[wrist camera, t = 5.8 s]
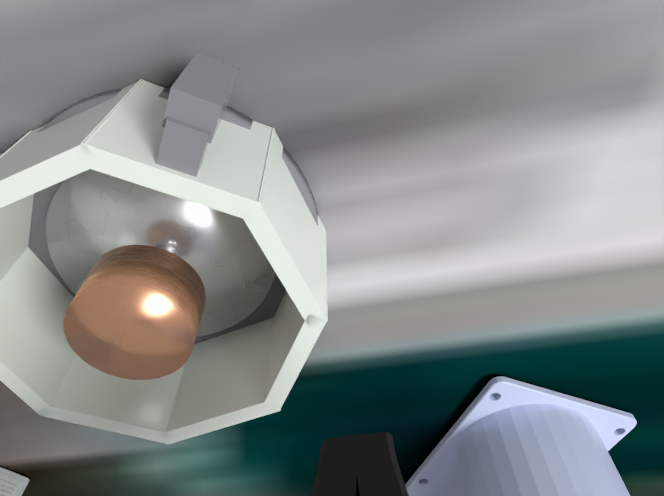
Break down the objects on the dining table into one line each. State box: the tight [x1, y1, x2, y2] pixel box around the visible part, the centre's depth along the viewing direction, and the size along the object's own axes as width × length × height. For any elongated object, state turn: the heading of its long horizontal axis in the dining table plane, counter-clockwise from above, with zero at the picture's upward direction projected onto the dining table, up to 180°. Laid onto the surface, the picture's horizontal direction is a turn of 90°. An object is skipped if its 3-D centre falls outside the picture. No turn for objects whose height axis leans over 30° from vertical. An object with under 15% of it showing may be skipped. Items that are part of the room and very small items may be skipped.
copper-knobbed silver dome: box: [46, 169, 275, 380], centre depth 17 cm, size 8×8×4 cm
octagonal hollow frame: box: [0, 52, 328, 444], centre depth 17 cm, size 12×11×5 cm
